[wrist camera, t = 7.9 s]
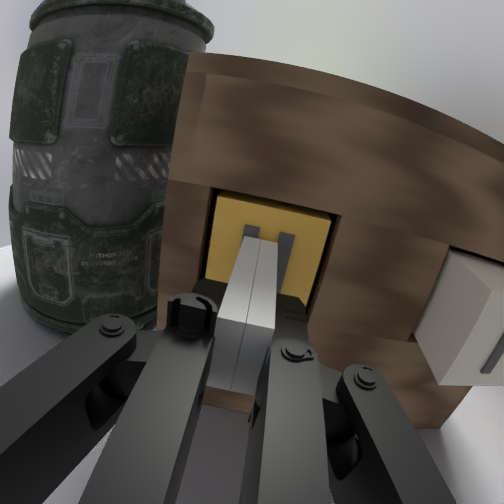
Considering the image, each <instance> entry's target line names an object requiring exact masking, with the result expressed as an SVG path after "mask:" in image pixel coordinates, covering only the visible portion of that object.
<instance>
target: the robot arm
mask: <svg viewBox="0 0 504 504" xmlns="http://www.w3.org/2000/svg"><path fill="white" fill-rule="evenodd" d="M260 242H261V243H260ZM277 254H278V243H276V242H271V241H267V240H262V239H257V238H253V237H248V236H244V239H243V242H242V245H241V248H240V250H239V253H238V256H237V259H236V262H235V265H234V268H233V271H232V274H231V277H230V280H229V283H225V282H220V281H216V280H211V279H207V278H204V279H202V280H200V281H199V282H197V283H196V284H195V286H194V287H193V289H192V292H191V293H181V294H177V295H174V296H172V297H171V298H170V299H169V300H168V305H167V321H166V327H165V329H162V330H157V331H145V330H136V325H135V323H134V322H133V320H131V319H130V318H128V317H127V316H124V315H121V314H112V313H110V314H104V315H101V316H99V317H96V318H95V319H93V320H92V321H90V322H89V323H88V324H86V325H85V326H83V327H82V328H80V329H79V330H78V331H76V332H75V333H73V334H72V335H71V336H69V337H68V338H66V339H65V340H64V341H62V342H61V343H60V344H58V345H57V346H55V347H54V348H53V349H51V350H50V351H48V352H47V353H46V354H44V355H43V356H42V357H40V358H39V359H38V360H36V361H35V362H33V363H32V364H31V365H29V366H28V367H27V368H25V369H24V370H23V371H21V372H20V373H19V374H17V375H16V376H15V377H13V378H12V379H11V380H9V381H8V382H7V383H5V384H4V385H3V386H2V387H0V504H42V503H43V502H44V501H45V500H46V499H47V498H48V497H49V495H50V494H51V493H52V492H53V491H54V490H55V489H56V488H57V487H58V486H59V485H60V484H61V483H62V481H63V480H64V479H65V478H66V477H67V476H68V475H69V474H70V473H71V472H72V471H73V470H74V469H75V467H76V466H77V465H78V464H79V463H80V462H81V461H82V460H83V459H84V458H85V457H86V455H87V454H88V453H89V452H90V451H91V450H92V449H93V448H94V447H95V446H96V445H97V443H98V442H99V441H100V440H101V439H102V438H103V437H104V436H105V435H106V434H107V432H108V431H109V430H110V429H111V428H112V427H113V426H114V425H115V426H114V428H113V430H112V432H111V434H110V436H109V438H108V440H107V442H106V444H105V447H104V449H103V451H102V453H101V455H100V457H99V459H98V461H97V463H96V466H95V468H94V470H93V472H92V474H91V476H90V479H89V481H88V483H87V485H86V487H85V490H84V492H83V494H82V496H81V498H80V501H79V503H78V504H175V502H176V498H177V494H178V491H179V487H180V483H181V479H182V476H183V472H184V468H185V465H186V461H187V457H188V453H189V450H190V446H191V442H192V439H193V435H194V431H195V428H196V424H197V420H198V417H199V413H200V409H201V406H202V402H203V398H204V392H205V386H211V387H215V388H219V389H224V390H229V391H233V392H238V393H243V394H248V395H254V394H255V391H256V396H255V401H254V404H253V407H252V410H251V413H250V416H249V419H248V422H249V423H250V427H249V435H248V443H247V450H246V457H245V465H244V472H243V479H242V486H241V493H240V500H239V504H330V495H329V487H330V490H331V493H332V496H333V499H334V502H335V504H457V503H456V501H455V499H454V498H453V496H452V494H451V492H450V490H449V488H448V486H447V485H446V483H445V481H444V479H443V477H442V475H441V474H440V472H439V470H438V468H437V466H436V465H435V463H434V461H433V459H432V457H431V456H430V454H429V452H428V450H427V449H426V447H425V445H424V443H423V442H422V440H421V438H420V437H419V435H418V433H417V431H416V430H415V428H414V426H413V425H412V423H411V421H410V420H409V418H408V416H407V414H406V413H405V411H404V409H403V408H402V406H401V404H400V403H399V401H398V400H397V398H396V396H395V395H394V393H393V391H392V390H391V388H390V386H389V385H388V383H387V382H386V380H385V378H384V377H383V376H382V375H381V374H380V372H378V371H377V370H375V369H374V368H372V367H369V366H367V365H362V364H354V365H349V366H348V367H347V368H346V369H344V371H343V373H342V372H340V371H337V370H334V369H332V368H329V367H327V366H325V365H323V364H322V363H320V362H319V361H318V357H317V354H316V352H315V350H314V349H313V348H312V347H311V346H310V345H309V338H308V328H307V322H306V321H307V319H306V310H305V305H304V304H303V302H302V301H301V300H300V298H299V297H295V296H290V295H285V294H281V293H276V283H277ZM232 379H233V380H232ZM231 383H232V385H231ZM230 388H231V390H230Z"/></svg>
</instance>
